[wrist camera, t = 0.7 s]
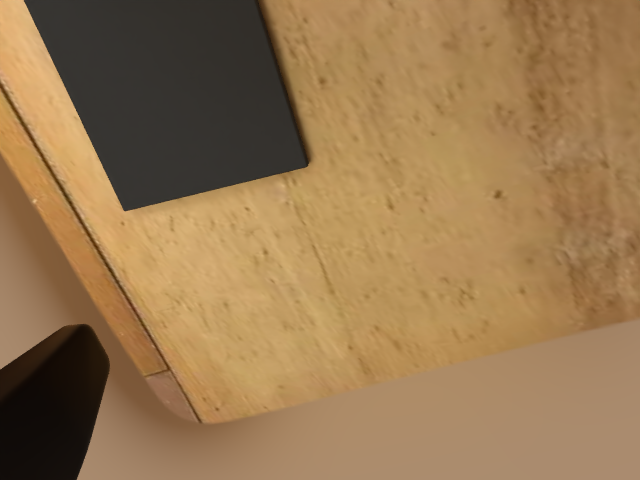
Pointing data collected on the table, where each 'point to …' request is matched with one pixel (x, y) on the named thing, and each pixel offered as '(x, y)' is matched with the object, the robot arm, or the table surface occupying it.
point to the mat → (173, 92)
